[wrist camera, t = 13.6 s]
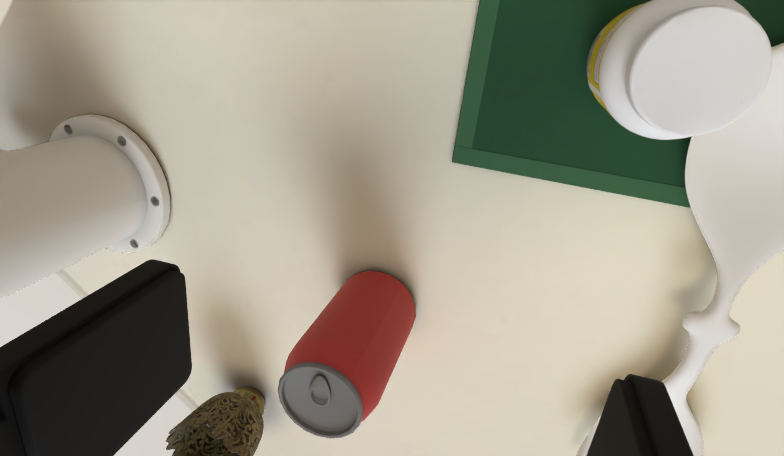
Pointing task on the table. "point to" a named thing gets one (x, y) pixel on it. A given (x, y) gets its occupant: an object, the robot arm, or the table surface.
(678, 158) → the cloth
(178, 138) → the table surface
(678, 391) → the white plastic utensil
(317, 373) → the beer can
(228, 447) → the cup
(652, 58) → the pill bottle
